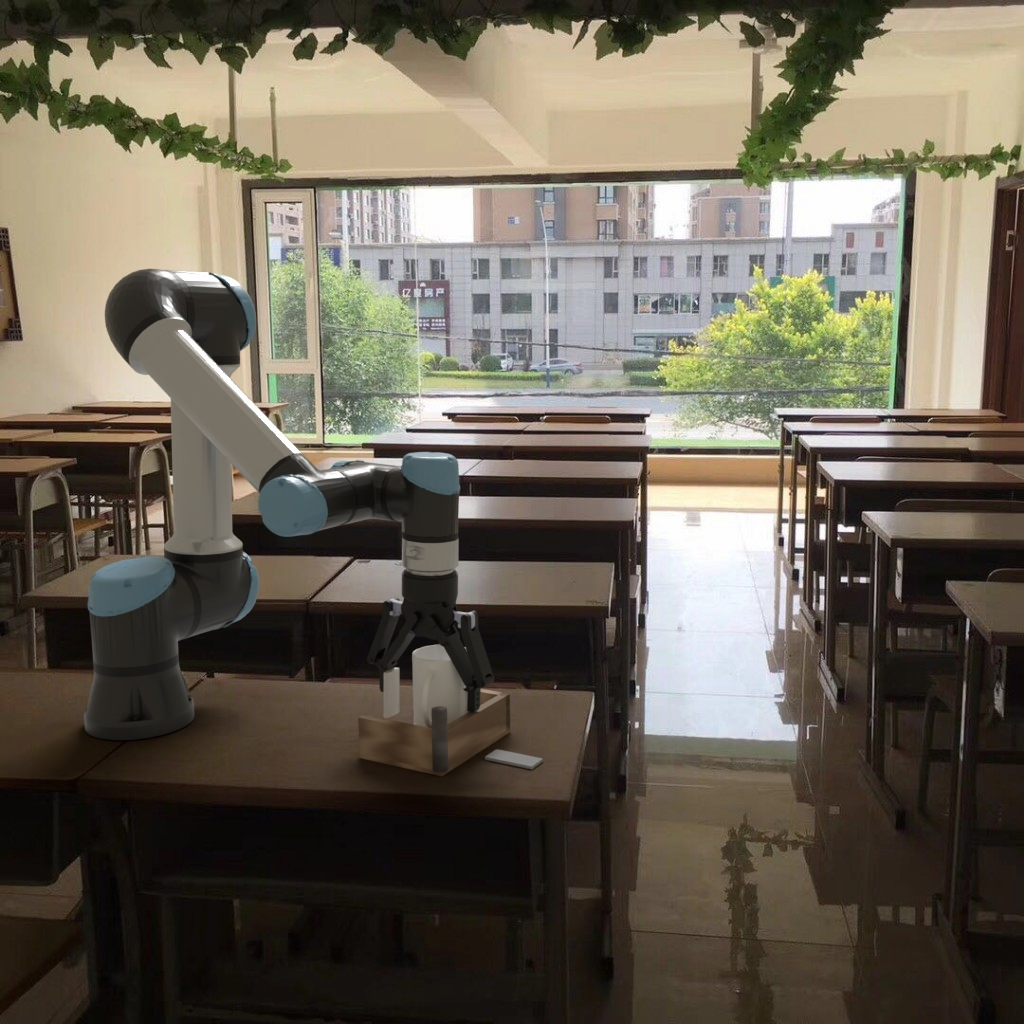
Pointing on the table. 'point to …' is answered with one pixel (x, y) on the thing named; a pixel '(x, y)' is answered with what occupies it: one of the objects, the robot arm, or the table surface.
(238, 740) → the table surface
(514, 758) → the grey rectangular slab
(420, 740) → the keeper cradle
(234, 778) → the table surface
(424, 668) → the mug
